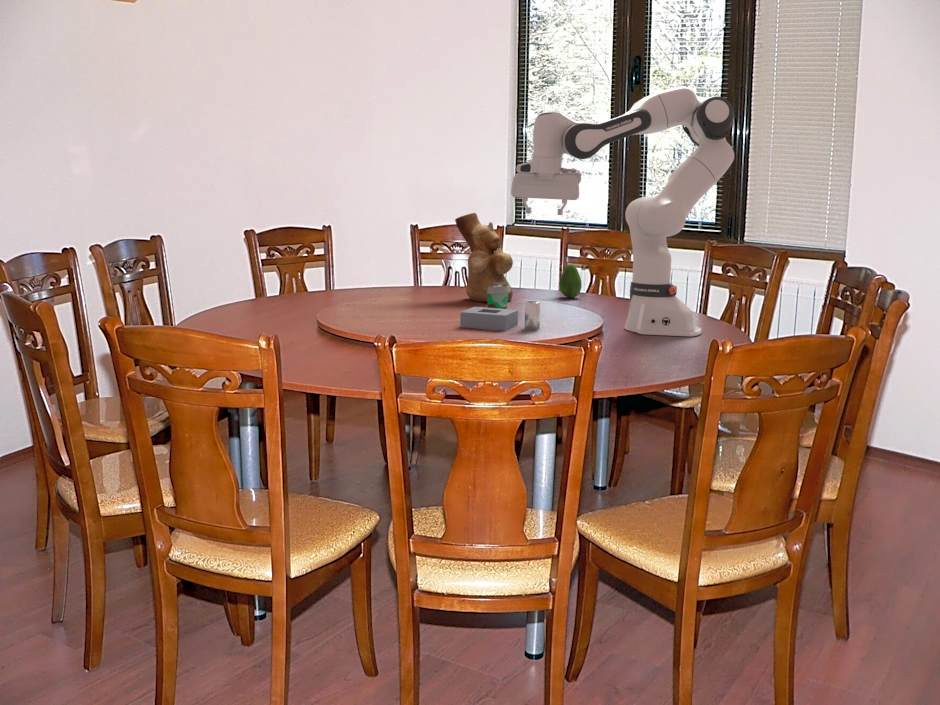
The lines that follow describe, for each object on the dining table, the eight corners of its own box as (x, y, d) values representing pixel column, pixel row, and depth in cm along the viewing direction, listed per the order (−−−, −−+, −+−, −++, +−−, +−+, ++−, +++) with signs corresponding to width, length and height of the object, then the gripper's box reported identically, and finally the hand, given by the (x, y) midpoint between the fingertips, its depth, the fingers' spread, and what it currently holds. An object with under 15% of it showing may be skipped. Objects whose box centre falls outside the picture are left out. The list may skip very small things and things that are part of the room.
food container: (506, 319, 333) (507, 287, 331) (486, 318, 334) (487, 286, 332) (512, 314, 345) (513, 283, 343) (493, 313, 346) (494, 282, 344)
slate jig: (517, 324, 324) (518, 309, 323) (505, 330, 313) (505, 315, 312) (474, 321, 329) (474, 306, 328) (460, 327, 318) (460, 312, 317)
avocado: (570, 295, 390) (571, 262, 388) (585, 298, 384) (586, 264, 382) (554, 297, 385) (555, 263, 383) (569, 300, 379) (570, 266, 377)
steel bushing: (541, 328, 319) (542, 301, 317) (536, 330, 315) (537, 303, 313) (526, 327, 320) (527, 300, 319) (522, 329, 316) (523, 302, 315)
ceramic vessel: (499, 305, 362) (501, 216, 357) (444, 299, 373) (445, 212, 367) (520, 300, 376) (523, 214, 370) (467, 294, 387) (468, 210, 381)
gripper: (582, 168, 319) (579, 215, 322) (513, 165, 322) (511, 211, 325) (581, 169, 313) (578, 216, 316) (511, 166, 316) (509, 213, 319)
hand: (544, 214), depth 320 cm, fingers open, 8 cm apart
